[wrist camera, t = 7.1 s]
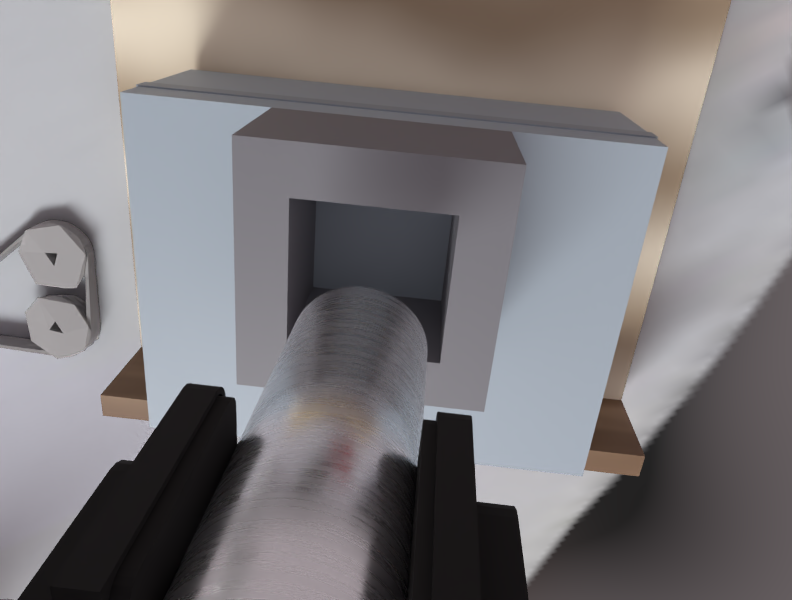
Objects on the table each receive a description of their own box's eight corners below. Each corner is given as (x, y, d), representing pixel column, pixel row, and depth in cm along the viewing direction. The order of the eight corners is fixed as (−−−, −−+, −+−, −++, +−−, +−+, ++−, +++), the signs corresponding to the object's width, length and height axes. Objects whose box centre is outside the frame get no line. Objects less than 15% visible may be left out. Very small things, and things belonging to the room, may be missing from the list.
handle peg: (293, 279, 14) (7, 789, 5) (434, 294, 14) (408, 845, 5) (289, 399, 15) (56, 984, 6) (420, 414, 15) (376, 1030, 6)
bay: (111, -204, 23) (19, -256, 18) (754, -146, 22) (841, -184, 18) (155, 349, 32) (102, 415, 27) (609, 400, 32) (638, 476, 27)
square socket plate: (189, 67, 25) (43, 113, 16) (621, 110, 25) (722, 182, 16) (202, 348, 30) (97, 503, 21) (558, 388, 30) (607, 563, 21)
